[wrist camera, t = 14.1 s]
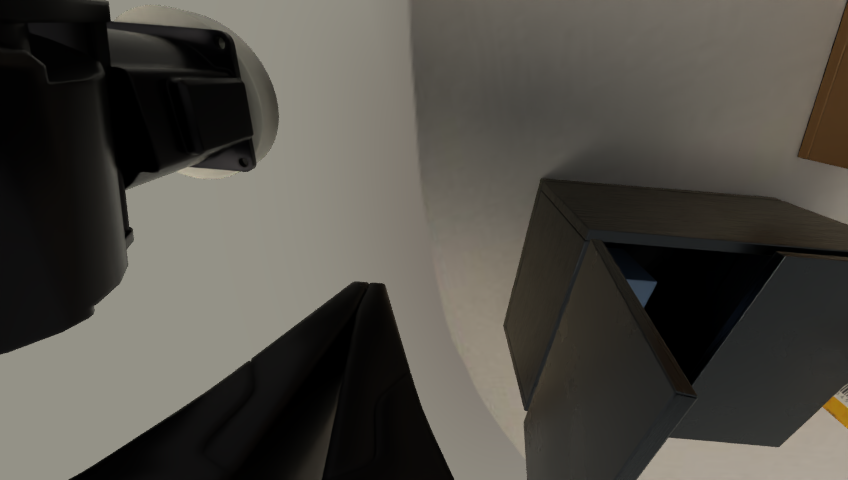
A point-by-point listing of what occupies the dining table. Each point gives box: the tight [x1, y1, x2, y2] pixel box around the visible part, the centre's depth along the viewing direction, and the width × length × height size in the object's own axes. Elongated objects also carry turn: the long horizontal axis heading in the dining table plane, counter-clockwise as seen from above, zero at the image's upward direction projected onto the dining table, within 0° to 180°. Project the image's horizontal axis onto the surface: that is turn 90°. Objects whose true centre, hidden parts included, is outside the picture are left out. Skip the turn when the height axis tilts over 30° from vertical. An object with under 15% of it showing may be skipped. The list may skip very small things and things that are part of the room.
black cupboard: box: [503, 179, 848, 447], centre depth 17 cm, size 13×11×7 cm
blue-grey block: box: [607, 248, 657, 308], centre depth 18 cm, size 4×4×3 cm
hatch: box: [524, 239, 698, 480], centre depth 11 cm, size 6×11×1 cm
